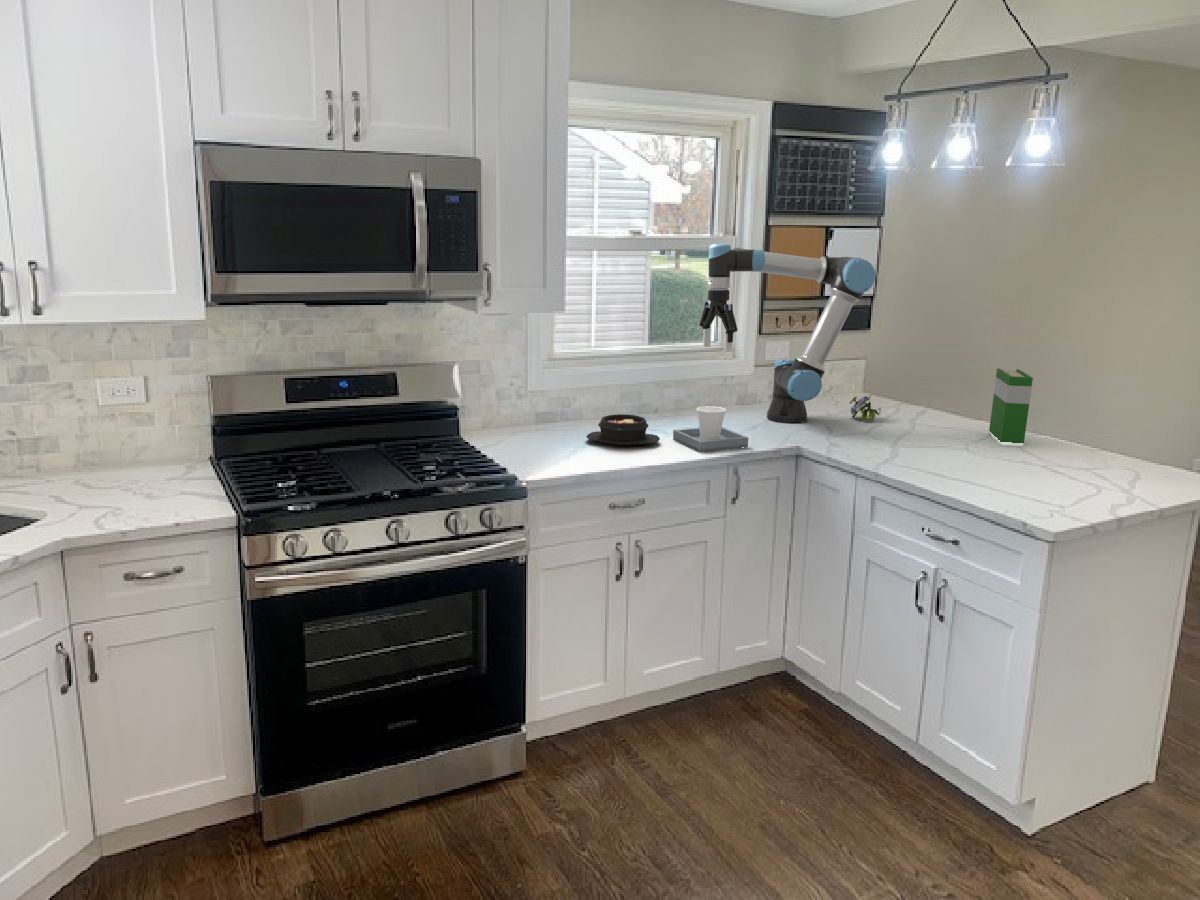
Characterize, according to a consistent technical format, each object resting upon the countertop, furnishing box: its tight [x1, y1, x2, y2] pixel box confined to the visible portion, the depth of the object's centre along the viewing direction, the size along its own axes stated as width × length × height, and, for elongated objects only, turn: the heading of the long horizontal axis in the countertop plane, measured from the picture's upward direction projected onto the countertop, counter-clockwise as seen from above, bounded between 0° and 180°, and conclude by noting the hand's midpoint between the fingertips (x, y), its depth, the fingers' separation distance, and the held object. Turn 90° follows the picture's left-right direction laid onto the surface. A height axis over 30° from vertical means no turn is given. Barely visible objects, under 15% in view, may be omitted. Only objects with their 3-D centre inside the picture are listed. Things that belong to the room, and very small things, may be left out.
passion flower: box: [849, 393, 882, 422], centre depth 345 cm, size 11×11×12 cm
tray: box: [672, 426, 749, 453], centre depth 304 cm, size 18×18×4 cm
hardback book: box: [988, 367, 1034, 444], centre depth 313 cm, size 18×7×24 cm, turn 169°
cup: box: [696, 405, 727, 441], centre depth 303 cm, size 10×10×11 cm
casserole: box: [586, 413, 661, 447], centre depth 303 cm, size 25×19×8 cm
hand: (717, 349), depth 321 cm, fingers open, 13 cm apart
